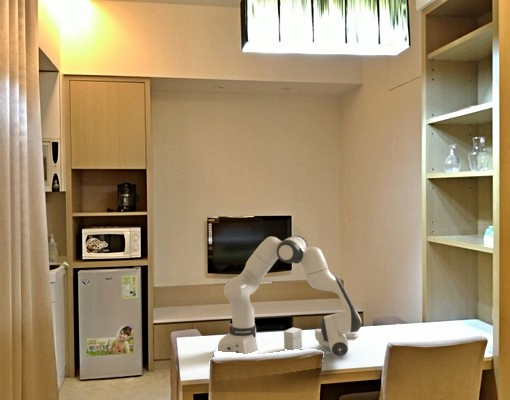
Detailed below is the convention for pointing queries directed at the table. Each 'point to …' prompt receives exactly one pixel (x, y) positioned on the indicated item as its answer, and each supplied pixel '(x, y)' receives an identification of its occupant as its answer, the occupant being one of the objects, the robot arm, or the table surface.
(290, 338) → the small box
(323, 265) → the robot arm
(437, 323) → the table surface
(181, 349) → the table surface
